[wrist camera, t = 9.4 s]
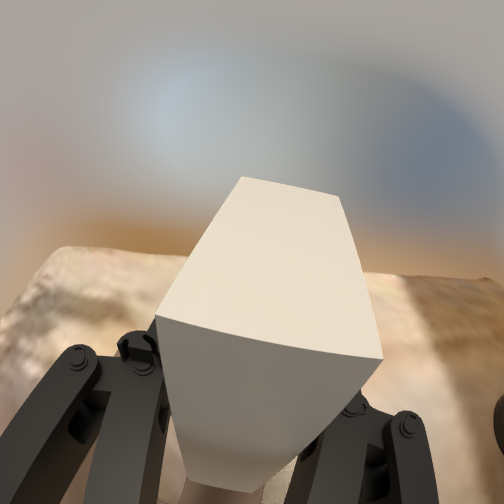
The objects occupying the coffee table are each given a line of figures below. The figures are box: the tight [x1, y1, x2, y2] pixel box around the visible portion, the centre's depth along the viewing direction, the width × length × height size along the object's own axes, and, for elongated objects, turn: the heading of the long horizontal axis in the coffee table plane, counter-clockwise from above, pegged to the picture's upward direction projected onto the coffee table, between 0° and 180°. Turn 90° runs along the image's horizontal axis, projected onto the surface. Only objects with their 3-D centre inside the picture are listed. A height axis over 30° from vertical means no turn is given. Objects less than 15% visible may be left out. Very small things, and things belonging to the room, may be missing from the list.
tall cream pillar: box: [155, 176, 383, 493], centre depth 9 cm, size 3×6×12 cm, turn 171°
